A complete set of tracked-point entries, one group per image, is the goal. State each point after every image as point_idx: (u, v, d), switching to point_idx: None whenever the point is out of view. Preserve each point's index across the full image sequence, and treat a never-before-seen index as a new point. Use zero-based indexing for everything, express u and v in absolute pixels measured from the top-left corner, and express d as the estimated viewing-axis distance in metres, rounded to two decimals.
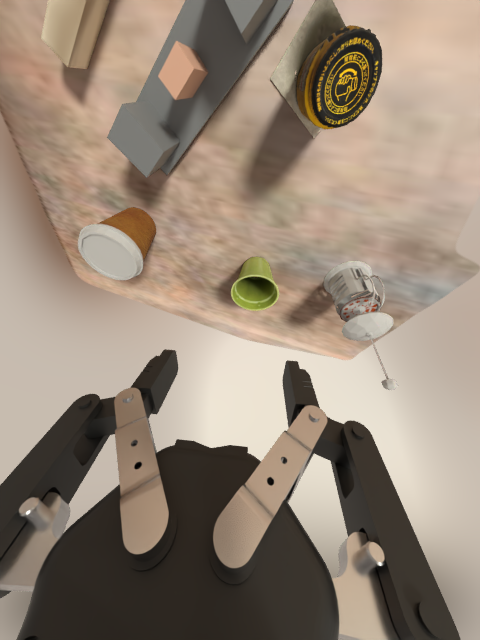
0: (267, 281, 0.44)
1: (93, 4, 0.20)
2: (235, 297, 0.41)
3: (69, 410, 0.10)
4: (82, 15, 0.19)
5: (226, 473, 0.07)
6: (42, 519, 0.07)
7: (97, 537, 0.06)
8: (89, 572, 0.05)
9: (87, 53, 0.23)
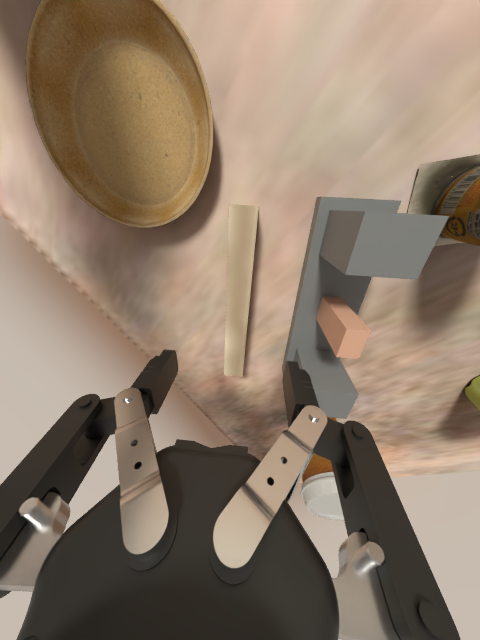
0: None
1: None
2: None
3: (69, 410, 0.10)
4: None
5: (226, 473, 0.07)
6: (41, 519, 0.07)
7: (97, 537, 0.06)
8: (89, 572, 0.05)
9: None
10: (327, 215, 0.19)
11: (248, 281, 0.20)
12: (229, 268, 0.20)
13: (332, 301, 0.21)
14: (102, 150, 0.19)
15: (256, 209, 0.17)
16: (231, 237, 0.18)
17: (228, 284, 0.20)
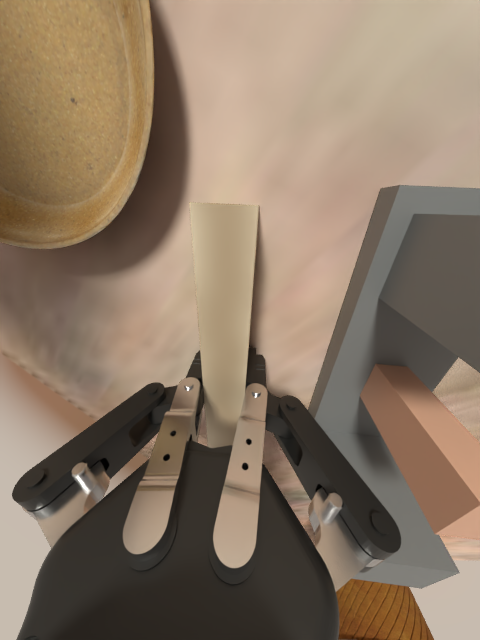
0: None
1: None
2: None
3: (140, 391, 0.11)
4: None
5: (226, 473, 0.07)
6: (85, 484, 0.08)
7: (98, 547, 0.06)
8: (89, 572, 0.05)
9: None
10: (407, 224, 0.09)
11: (242, 353, 0.10)
12: (202, 330, 0.10)
13: (398, 380, 0.12)
14: None
15: (253, 212, 0.07)
16: (200, 274, 0.08)
17: (203, 357, 0.11)
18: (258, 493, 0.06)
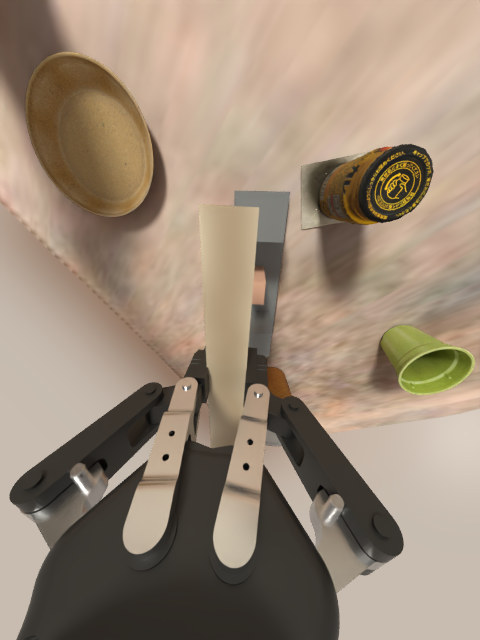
0: None
1: None
2: (410, 389, 0.31)
3: (138, 392, 0.11)
4: None
5: (226, 473, 0.07)
6: (83, 485, 0.08)
7: (98, 547, 0.06)
8: (89, 572, 0.05)
9: None
10: None
11: (243, 340, 0.11)
12: (208, 319, 0.11)
13: (254, 268, 0.29)
14: (80, 162, 0.26)
15: (254, 213, 0.08)
16: (207, 268, 0.09)
17: (208, 345, 0.12)
18: (258, 493, 0.06)
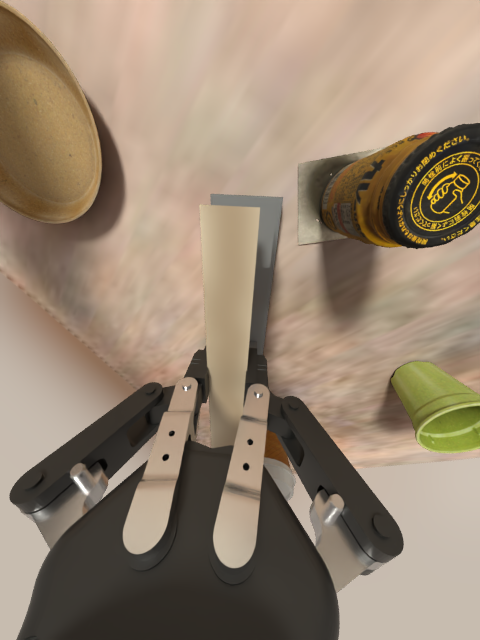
0: None
1: None
2: (429, 445, 0.25)
3: (138, 392, 0.11)
4: None
5: (226, 473, 0.07)
6: (83, 485, 0.08)
7: (98, 547, 0.06)
8: (89, 572, 0.05)
9: None
10: None
11: (244, 341, 0.11)
12: (208, 320, 0.11)
13: None
14: (13, 152, 0.20)
15: (255, 213, 0.08)
16: (207, 268, 0.09)
17: (209, 345, 0.12)
18: (258, 493, 0.06)
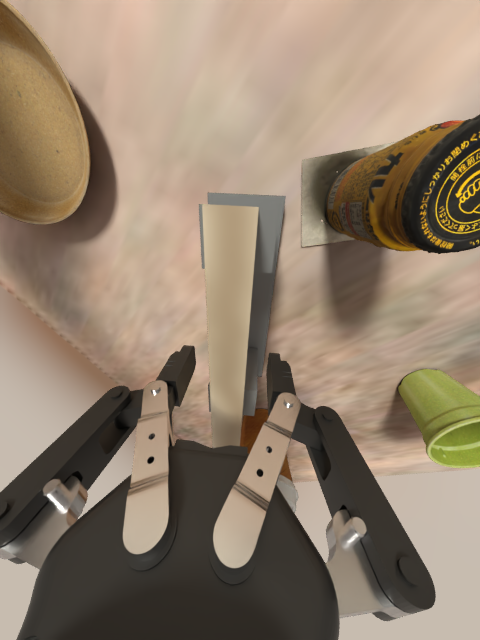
0: None
1: None
2: (441, 459, 0.24)
3: (102, 398, 0.10)
4: (241, 421, 0.16)
5: (226, 473, 0.07)
6: (61, 501, 0.07)
7: (98, 541, 0.06)
8: (89, 572, 0.05)
9: None
10: None
11: (243, 333, 0.12)
12: (210, 313, 0.11)
13: None
14: None
15: (254, 212, 0.09)
16: (209, 264, 0.10)
17: (210, 337, 0.12)
18: (258, 493, 0.06)
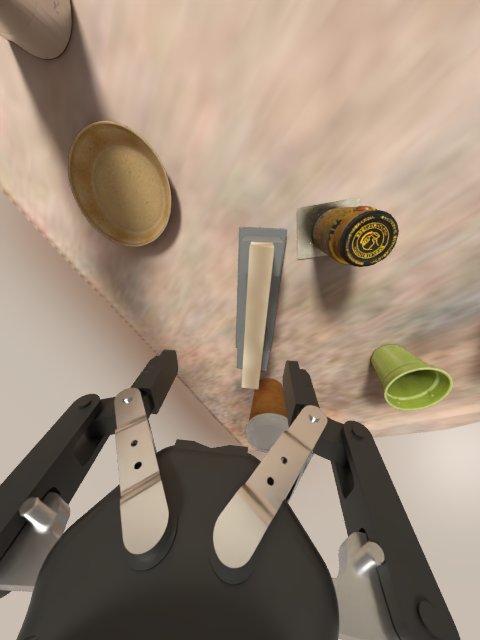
0: None
1: None
2: (396, 404, 0.34)
3: (69, 410, 0.10)
4: None
5: (226, 473, 0.07)
6: (42, 518, 0.07)
7: (97, 537, 0.06)
8: (89, 572, 0.05)
9: None
10: None
11: (265, 307, 0.23)
12: (248, 296, 0.23)
13: None
14: (109, 201, 0.31)
15: (272, 250, 0.20)
16: (250, 272, 0.21)
17: (247, 310, 0.23)
18: (258, 493, 0.06)
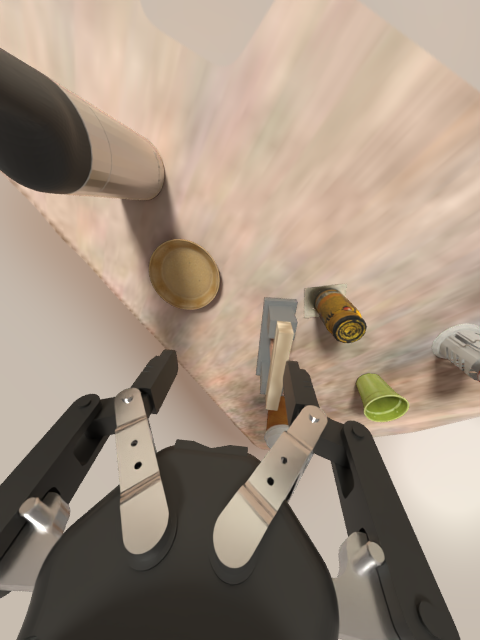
0: None
1: None
2: (372, 418, 0.48)
3: (69, 410, 0.10)
4: (280, 395, 0.41)
5: (226, 473, 0.07)
6: (42, 518, 0.07)
7: (97, 537, 0.06)
8: (89, 572, 0.05)
9: None
10: (268, 306, 0.43)
11: (285, 363, 0.36)
12: (275, 357, 0.36)
13: None
14: (171, 278, 0.43)
15: (292, 334, 0.33)
16: (278, 345, 0.35)
17: (274, 364, 0.37)
18: (258, 493, 0.06)
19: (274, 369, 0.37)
